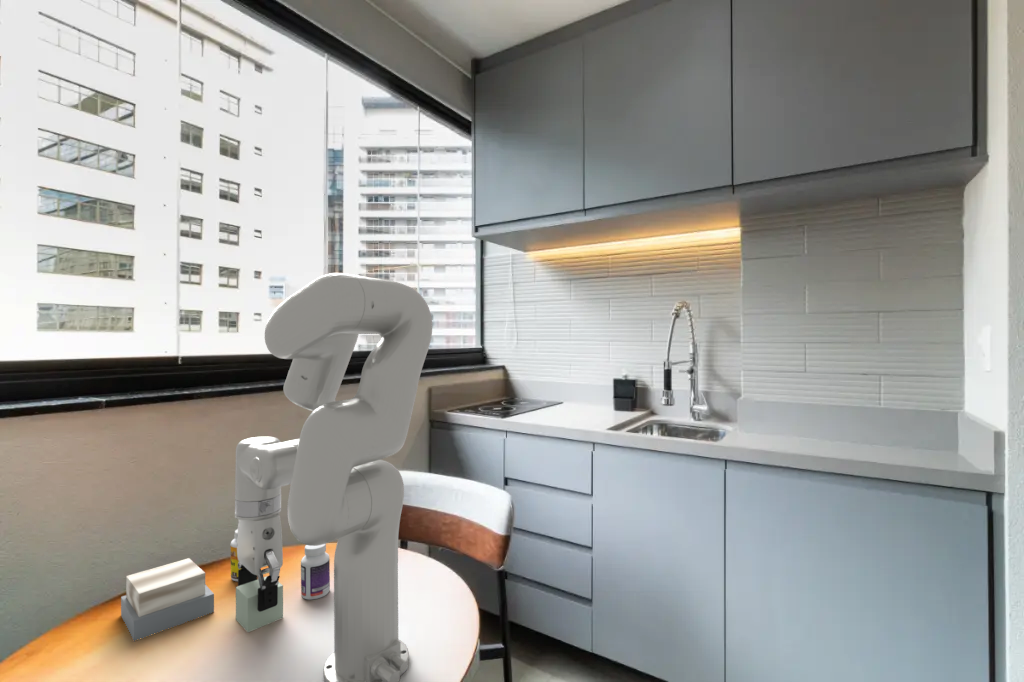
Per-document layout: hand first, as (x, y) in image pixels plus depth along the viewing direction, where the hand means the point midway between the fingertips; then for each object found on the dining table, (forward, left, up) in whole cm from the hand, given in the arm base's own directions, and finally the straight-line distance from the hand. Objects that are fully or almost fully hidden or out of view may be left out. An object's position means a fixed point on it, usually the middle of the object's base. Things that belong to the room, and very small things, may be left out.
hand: (257, 597), depth 88 cm
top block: (+14, +11, 0) cm, 18 cm away
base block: (+14, +11, -4) cm, 18 cm away
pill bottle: (0, -11, -4) cm, 12 cm away
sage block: (-1, 0, -4) cm, 4 cm away
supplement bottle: (+19, -4, -4) cm, 20 cm away
